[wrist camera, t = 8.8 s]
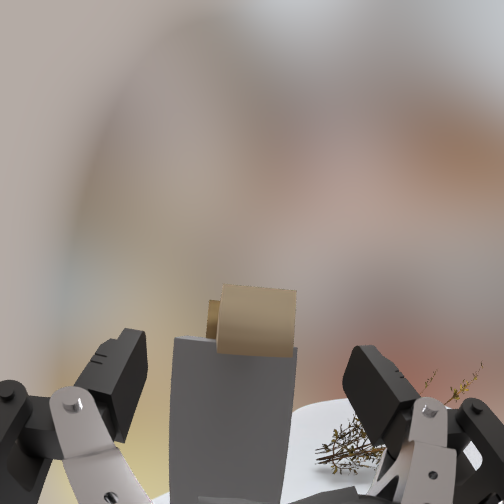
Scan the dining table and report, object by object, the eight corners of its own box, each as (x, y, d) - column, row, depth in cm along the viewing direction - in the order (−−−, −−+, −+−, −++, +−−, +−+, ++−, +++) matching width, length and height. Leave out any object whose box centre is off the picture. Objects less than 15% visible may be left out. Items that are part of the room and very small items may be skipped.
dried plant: (275, 419, 47) (494, 319, 33) (321, 401, 71) (462, 335, 57) (312, 537, 31) (528, 455, 17) (346, 486, 55) (490, 426, 41)
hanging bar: (316, 357, 9) (320, 265, 10) (190, 350, 9) (200, 253, 10) (252, 341, 26) (254, 307, 27) (206, 337, 26) (210, 303, 27)
